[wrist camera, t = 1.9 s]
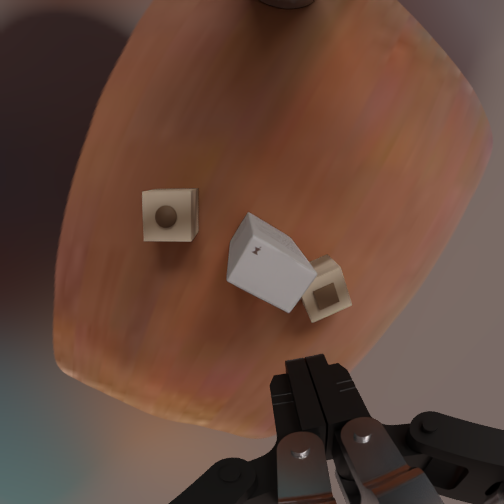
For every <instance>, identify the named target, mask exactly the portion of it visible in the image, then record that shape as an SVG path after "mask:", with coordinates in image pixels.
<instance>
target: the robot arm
mask: <svg viewBox="0 0 504 504" xmlns="http://www.w3.org/2000/svg"><path fill="white" fill-rule="evenodd" d="M260 1H262V2H264V3H266V4H268V5H271V6H274V7H279V8H289V9H291V8H300V7H304V6H306V5H309V4H310V3H312V2H313V1H314V0H260ZM285 367H286V374H281V375H274V376H273V379H272V381H271V383H270V391H271V398H272V405H273V412H274V419H275V425H276V432H277V441H276V444H275V446H274V447H273V448H272V450H271V451H270V452H269V453H267V454H265V455H264V456H261V457H259V458H257V459H254V460H252V461H249V462H248V461H246V460H243V459H240V458H226V459H222V460H220V461H218V462H216V463H215V464H214V465H213V466H211V467H210V468H209V469H208V470H207V471H206V472H205V473H204V474H203V475H202V476H201V477H199V478H198V479H197V480H196V481H195V482H194V483H193V484H191V485H190V486H189V487H188V488H187V489H186V490H185V491H183V492H182V493H181V494H180V495H179V496H177V497H176V498H175V499H174V500H172V501H171V502H170V503H169V504H336V500H335V498H333V495H332V490H331V484H330V478H329V472H328V466H327V461H326V460H330V459H333V460H334V463H335V466H336V470H335V476H336V479H337V482H338V484H339V486H340V489H341V491H342V494H343V496H344V499H345V501H346V504H444V503H443V501H442V500H441V498H440V496H439V495H443V496H446V497H449V498H452V499H456V500H460V501H464V502H468V503H472V504H504V430H500V429H496V428H492V427H488V426H484V425H479V424H475V423H472V422H468V421H465V420H461V419H458V418H454V417H451V416H447V415H444V414H441V413H438V412H432V411H428V412H423V413H420V414H419V415H417V416H416V417H415V418H413V420H412V422H411V423H410V424H401V425H385V424H381V423H380V422H379V421H378V420H376V419H374V418H372V417H371V416H370V414H369V412H368V410H367V408H366V406H365V404H364V402H363V400H362V398H361V396H360V394H359V392H358V390H357V389H356V387H355V384H354V382H353V381H352V378H351V376H350V374H349V373H348V371H347V369H345V368H344V367H343V366H341V365H340V364H339V363H336V364H332V365H328V363H327V361H326V358H325V356H324V354H319V355H314V356H309V357H305V358H299V359H293V360H287V361H285ZM438 494H439V495H438Z"/></svg>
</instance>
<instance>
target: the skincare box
mask: <svg viewBox="0 0 504 504" xmlns="http://www.w3.org/2000/svg"><path fill="white" fill-rule="evenodd" d="M316 276H317V272H316V271H315V270H314V268H313V267H312V265H311V264H310V263H309V261H308V260H307V259H306V257H305V256H304V255H303V253H302V252H301V251H300V249H299V248H298V247H297V245H296V244H295V243H294V241H293V240H292V239H291V238H290V237H289V236H287V235H286V234H284V233H282V232H281V231H279V230H278V229H276V228H274V227H273V226H271V225H269V224H268V223H266V222H264V221H263V220H261V219H259V218H258V217H256V216H254V215H253V214H251V213H249V212H248V213H247V215H246V216H245V218H244V219H243V221H242V223H241V224H240V226H239V228H238V229H237V231H236V233H235V234H234V236H233V238H232V239H231V241H230V247H229V257H228V268H227V281H228V282H229V283H231V284H233V285H235V286H237V287H239V288H240V289H242V290H244V291H246V292H248V293H250V294H252V295H254V296H256V297H258V298H260V299H262V300H264V301H266V302H268V303H270V304H272V305H274V306H276V307H278V308H280V309H282V310H284V311H285V312H287V313H290V312H291V310H292V309H293V308H294V306H295V305H296V304H297V302H298V301H299V300H300V298H301V297H302V296H303V294H304V293H305V292H306V290H307V289H308V287H309V286H310V285H311V283H312V282H313V280H314V279H315V278H316Z"/></svg>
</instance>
